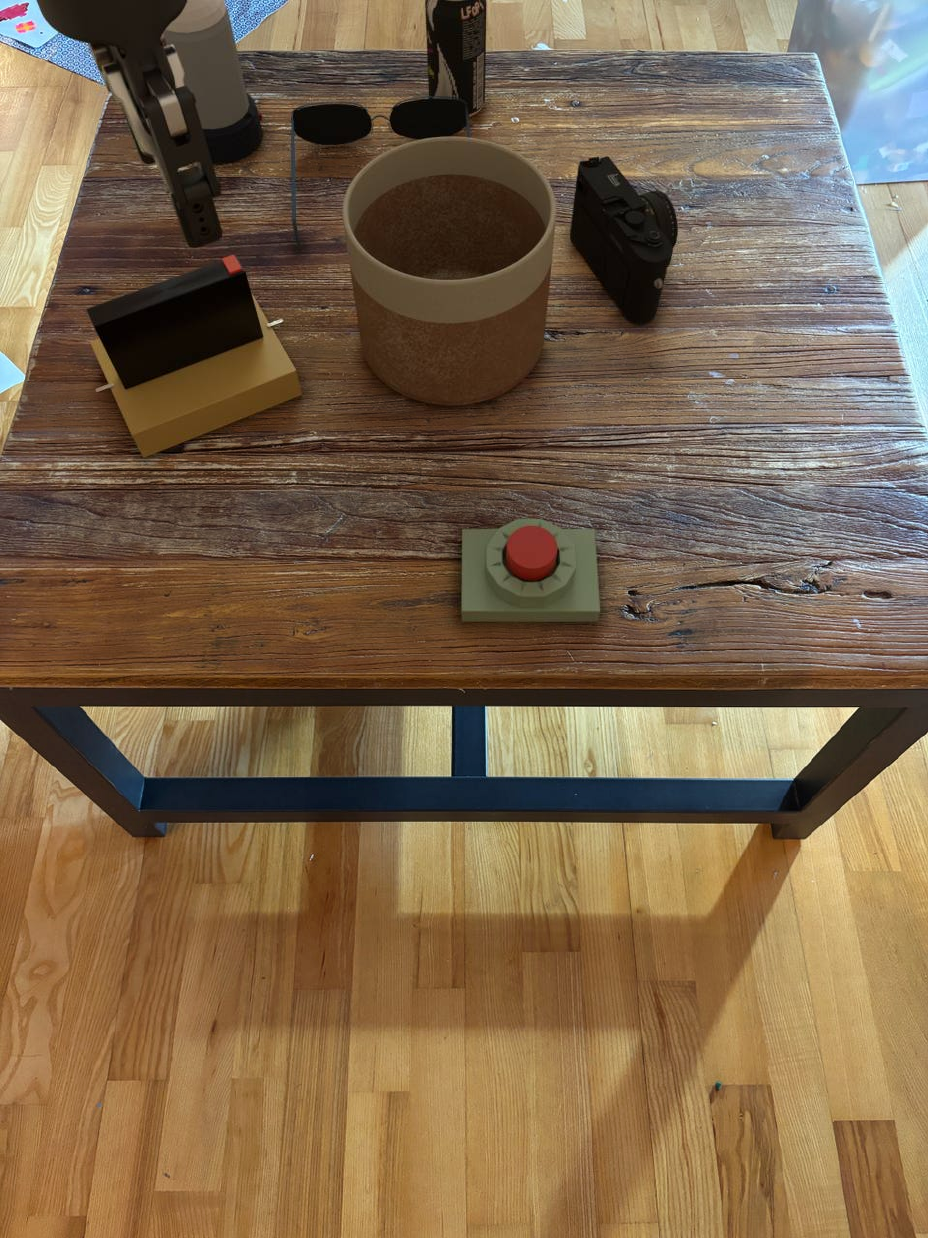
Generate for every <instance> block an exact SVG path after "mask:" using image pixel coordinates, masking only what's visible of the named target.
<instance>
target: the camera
mask: <svg viewBox="0 0 928 1238" xmlns="http://www.w3.org/2000/svg"><path fill="white" fill-rule="evenodd" d="M678 235H679V226H678V218H677V214H676V209H675V208H674V204H673V203H672V200H671V199H670V198H669V197H668V195H667V194H666V193H665V192H663V191H661V190H658V189H656V190H650V191H648V192H645V193H641V194H639V193H638V191H636V189H635V188H634V187H633V185H632V184H631V183H630V182H629V181H628V179H627V178H626V177H625V175H624V174H623V173H622V172H621V170H620V169H619V168H618V167H617V165H616V164H615V162H614V161H613V160H612V159H611V158H610V156H608V155H606V156H604V157H599V156H593V157H590V158H588V160H579V164H578V165H577V175H576V181H575V190H574V197H573V205H572V215H571V222H570V231H569V239H570V242H571V243H572V244H573V246H574V247H575V248H576V250H577V252H578V253H579V255H580V256H581V258H582V259H583V261H584V262H585V263H586V265H587V266H588V268H589V269H590V270H591V272H592V273H593V275H594V276H595V278H596V279H597V280H598V281H599V283H600V284H601V286H602V288H604V290H605V292H606V293H607V294H608V296H609V297H610V298H611V300H612V302H613V303H614V304H615V305H616V307H617V308H618V310H619V311H620V313H621V314H622V315H623V317H624V318H625V319H626V320H627V321H628V322H630V323H632V324H635V325H645V324H650V323H651V322H652V321H653V320H654V319H655V318H656V315H657V313H658V309H659V306H660V305H659V304H660V301H661V295H662V293H663V288H664V284H665V279H666V276H667V270H668V267H669V266H670V264H671V261H672V258H673V253H674V248H675V245H676V244H677V240H678Z"/></svg>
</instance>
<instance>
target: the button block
mask: <svg viewBox="0 0 928 1238" xmlns="http://www.w3.org/2000/svg"><path fill="white" fill-rule="evenodd" d="M524 526H539V527H542V528H544V529H546V530H548V531H549V532H550V533H551V534H552V535H553V536H554V538H555V540H556V542H557V547H558V550H557V556H556V562H555V566H554V568H553V570H552V571H551V573H550V574H549V575H547V576H546V577H544V578H542V579H539V580H533V581H530V580H524V579H521V578H519V577H517V576H515V575H514V574H513V573H512V572H511V571H510V570H509V568H508V566H507V563H506V549H507V541H508V539H509V537H510V535H511V534H512V533H513V532H514V531H516V530H517V529H519V528H521V527H524ZM598 573H599V572H598V557H597V543H596V530H595V529H594V528H561V527H560V526H557V525H556V524H553V523H551V522H549V521H547V520H545V519H542V518H518V519H515V520H513V521H511V522H509V523H507V524H505V525H503V526H500V527H499V528H462V529H461V604H460V605H461V622H471V623H472V622H474V623H476V622H481V623H482V622H483V623H486V622H488V623H489V622H492V623H493V622H494V623H495V622H499V623H500V622H503V623H504V622H506V623H507V622H509V623H512V622H515V623H517V622H518V623H519V622H520V623H521V622H522V623H528V622H529V623H531V622H532V623H533V622H535V623H538V622H539V623H540V622H541V623H543V622H544V623H546V622H547V623H550V622H553V623H557V622H558V623H560V622H561V623H570V622H571V623H597V622H598V621H599V617H600V614H601V601H600V587H599V586H600V585H599V574H598Z"/></svg>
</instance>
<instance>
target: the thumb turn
mask: <svg viewBox="0 0 928 1238" xmlns="http://www.w3.org/2000/svg"><path fill="white" fill-rule="evenodd" d="M252 294H253V293H252V289H251V286H250V282H249V279H248V275H247V271H246V269H245V267H244V266H243V264H242V262H241V260H240V259H239V256H237V255H235V254H231V255H228V256H224V257H223V258H221V260H219V261H216V262H214V263H211V264H208V265H204V266H202V267H199V268H197V269H194V270H191V271H189V272H185V273H183V274H180V275H177V276H175V277H172V278H169V279H166V280H163V281H160V282H158V283H154V284H152V285H149V286H146V287H144V288H141V289H138V290H135V291H132V292H130V293H127V294H124V295H121V296H118V297H116V298H113V299H110V300H107V301H105V302H102V303H99V304H96V305H94V306H91V307H87V308H86V309H85V311H86V313H87V316H88V318H89V320H90V322H91V324H92V327H93V329H94V330H95V332H96V334H97V336H98V339H99V338H100V340H101V342H102V344H103V346H104V348H105V350H106V352H107V354H108V356H109V358H110V360H111V362H112V364H113V366H114V368H115V370H116V372H117V374H118V376H119V378H120V380H121V382H122V384H123V386H124V388H125V389H129V388H132V387H134V386H137V385H140V384H142V383H145V382H147V381H150V380H153V379H155V378H158V377H161V376H163V375H166V374H168V373H171V372H174V371H176V370H179V369H182V368H184V367H187V366H189V365H192V364H195V363H197V362H200V361H203V360H205V359H208V358H211V357H213V356H216V355H218V354H221V353H224V352H226V351H229V350H232V349H234V348H237V347H239V346H242V345H245V344H247V343H250V342H253V341H255V340H258V339H260V338H263V332H262V329H261V325H260V322H259V318H258V314H257V311H256V307H255V304H254V300H253V296H254V295H253V296H252Z"/></svg>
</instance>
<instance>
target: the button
mask: <svg viewBox="0 0 928 1238" xmlns="http://www.w3.org/2000/svg"><path fill="white" fill-rule="evenodd" d="M557 550H558V547H557V542H556V540H555V538H554V536H553V535H552V534H551V533H550V532H549V531H548V530H546V529H544V528H542V527H539V526H524V527H521V528H519V529H517V530H516V531H514V532H513V533H512V534H511V535H510V537H509V539H508V541H507V549H506V563H507V566H508V568H509V570H510V571H511V572H512V573H513V574H514V575H515V576H517V577H519V578H521V579H524V580H530V581H533V580H539V579H542V578H544V577H546V576H547V575H549V574H550V573H551V571H552V570H553V568H554V566H555V562H556V556H557Z"/></svg>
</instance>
